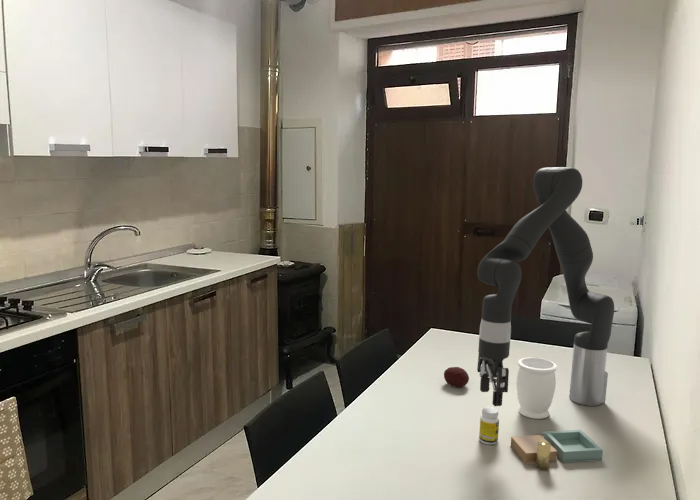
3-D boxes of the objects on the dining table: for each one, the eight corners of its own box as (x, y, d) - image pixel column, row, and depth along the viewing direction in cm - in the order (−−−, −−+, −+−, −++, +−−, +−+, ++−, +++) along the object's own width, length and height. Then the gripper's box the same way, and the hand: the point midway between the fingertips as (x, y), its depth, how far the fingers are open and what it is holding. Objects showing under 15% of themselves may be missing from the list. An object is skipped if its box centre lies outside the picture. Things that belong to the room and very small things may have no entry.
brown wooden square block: (540, 445, 140) (540, 434, 140) (556, 462, 133) (557, 451, 132) (510, 447, 139) (511, 436, 139) (525, 465, 131) (526, 453, 131)
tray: (579, 439, 143) (580, 429, 143) (601, 460, 133) (602, 449, 133) (543, 441, 142) (544, 431, 141) (563, 462, 132) (563, 451, 131)
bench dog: (545, 463, 131) (547, 440, 130) (551, 470, 128) (553, 446, 127) (533, 464, 131) (535, 440, 130) (539, 471, 128) (541, 447, 127)
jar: (533, 424, 151) (537, 372, 149) (506, 409, 160) (510, 360, 158) (561, 416, 156) (565, 366, 153) (533, 402, 165) (537, 354, 163)
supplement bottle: (498, 446, 139) (500, 415, 138) (479, 444, 140) (481, 412, 139) (497, 437, 144) (499, 406, 142) (478, 434, 145) (480, 404, 143)
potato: (458, 379, 182) (459, 361, 181) (473, 388, 174) (475, 370, 173) (439, 382, 179) (440, 365, 178) (454, 392, 171) (455, 374, 170)
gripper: (521, 346, 131) (516, 410, 133) (498, 328, 145) (493, 386, 147) (491, 346, 130) (486, 411, 132) (470, 328, 144) (466, 387, 146)
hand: (490, 398), depth 140 cm, fingers open, 8 cm apart
